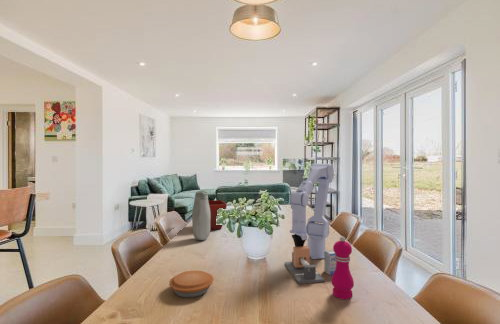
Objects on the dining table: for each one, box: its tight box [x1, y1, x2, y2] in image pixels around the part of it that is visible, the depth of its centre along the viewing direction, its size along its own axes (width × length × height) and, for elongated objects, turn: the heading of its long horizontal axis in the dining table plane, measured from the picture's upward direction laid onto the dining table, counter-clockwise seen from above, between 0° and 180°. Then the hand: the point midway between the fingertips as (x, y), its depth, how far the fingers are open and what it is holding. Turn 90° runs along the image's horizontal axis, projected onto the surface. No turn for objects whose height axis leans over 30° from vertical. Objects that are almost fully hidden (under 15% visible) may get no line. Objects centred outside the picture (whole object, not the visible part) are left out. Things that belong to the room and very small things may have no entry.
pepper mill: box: [331, 236, 355, 300], centre depth 95 cm, size 7×7×20 cm
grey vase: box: [191, 190, 211, 241], centre depth 160 cm, size 10×10×28 cm
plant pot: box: [208, 199, 228, 231], centre depth 187 cm, size 19×19×17 cm
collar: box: [292, 245, 311, 267], centre depth 116 cm, size 3×6×8 cm, turn 98°
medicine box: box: [323, 249, 336, 277], centre depth 114 cm, size 8×4×9 cm, turn 105°
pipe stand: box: [284, 251, 325, 285], centre depth 114 cm, size 19×10×6 cm, turn 8°
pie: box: [168, 270, 215, 299], centre depth 100 cm, size 15×16×5 cm
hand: (299, 252), depth 119 cm, fingers closed
